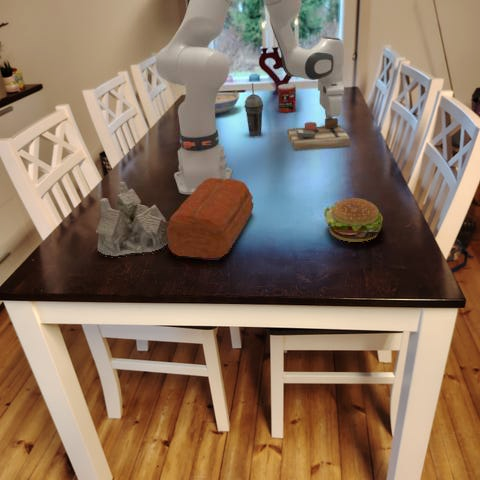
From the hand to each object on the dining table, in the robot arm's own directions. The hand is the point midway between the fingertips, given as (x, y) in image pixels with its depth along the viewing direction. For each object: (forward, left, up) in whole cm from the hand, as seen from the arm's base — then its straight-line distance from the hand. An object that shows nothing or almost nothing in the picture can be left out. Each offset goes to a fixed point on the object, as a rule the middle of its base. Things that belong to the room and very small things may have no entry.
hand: (328, 122), depth 176 cm
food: (-75, +11, -5) cm, 76 cm away
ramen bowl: (+44, +43, -5) cm, 61 cm away
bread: (-70, +44, -5) cm, 83 cm away
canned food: (+37, +11, -5) cm, 39 cm away
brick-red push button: (-4, +8, -1) cm, 9 cm away
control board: (-8, +6, -4) cm, 11 cm away
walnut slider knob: (-3, 0, -1) cm, 3 cm away
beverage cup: (+6, +28, -5) cm, 29 cm away
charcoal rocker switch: (-11, +11, 0) cm, 16 cm away
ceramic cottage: (-73, +64, -5) cm, 97 cm away
